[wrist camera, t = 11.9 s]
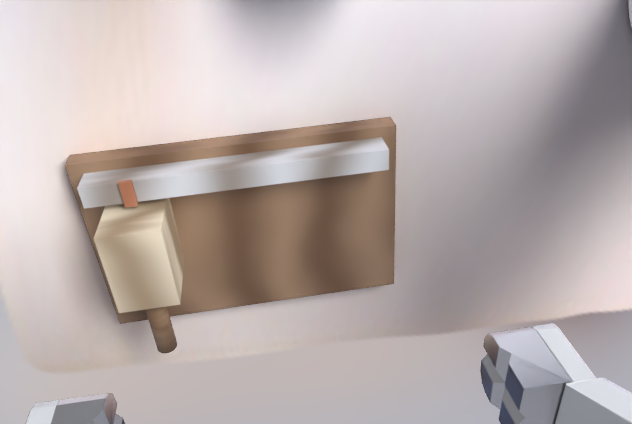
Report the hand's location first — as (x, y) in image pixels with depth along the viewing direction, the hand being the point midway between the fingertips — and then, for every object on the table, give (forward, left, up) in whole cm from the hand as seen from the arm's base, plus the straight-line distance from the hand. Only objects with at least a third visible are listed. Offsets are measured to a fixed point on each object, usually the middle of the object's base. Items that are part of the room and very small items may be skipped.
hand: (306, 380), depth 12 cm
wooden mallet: (+9, +14, -26) cm, 31 cm away
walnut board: (+2, +13, -27) cm, 30 cm away
